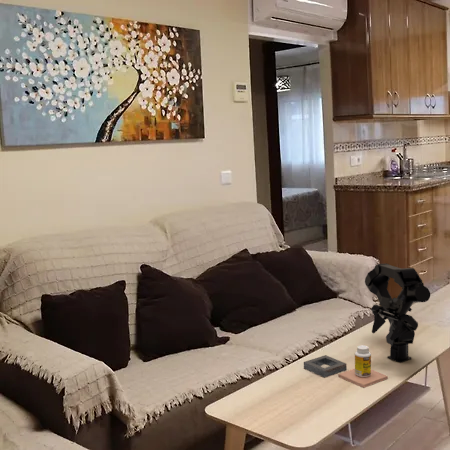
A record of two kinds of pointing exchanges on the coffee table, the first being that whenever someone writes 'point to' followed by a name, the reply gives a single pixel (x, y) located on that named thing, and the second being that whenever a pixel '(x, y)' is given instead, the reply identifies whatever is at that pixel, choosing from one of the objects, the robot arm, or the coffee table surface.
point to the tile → (363, 378)
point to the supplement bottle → (363, 361)
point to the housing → (333, 368)
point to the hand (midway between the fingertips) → (381, 336)
